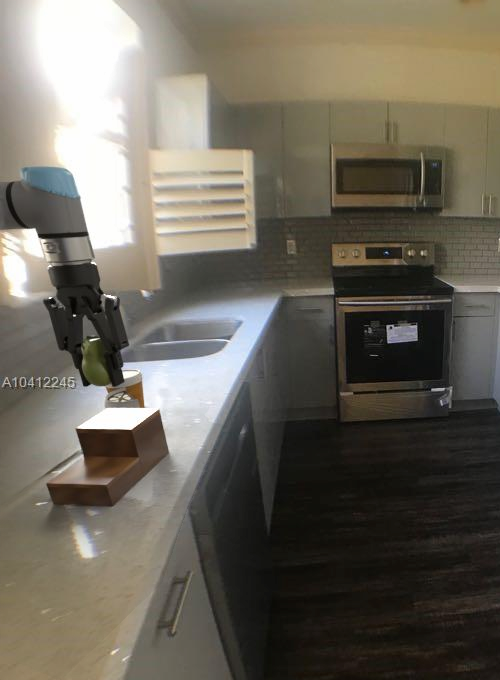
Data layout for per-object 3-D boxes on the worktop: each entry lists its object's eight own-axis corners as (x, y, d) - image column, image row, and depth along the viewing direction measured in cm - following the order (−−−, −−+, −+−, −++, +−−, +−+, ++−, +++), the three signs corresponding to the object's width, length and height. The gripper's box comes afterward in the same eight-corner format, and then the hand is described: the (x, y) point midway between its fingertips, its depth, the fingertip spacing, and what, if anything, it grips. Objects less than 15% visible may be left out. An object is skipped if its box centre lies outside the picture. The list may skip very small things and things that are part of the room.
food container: (107, 429, 116) (97, 393, 112) (133, 422, 120) (124, 386, 116) (119, 446, 107) (109, 407, 104) (147, 437, 111) (138, 399, 107)
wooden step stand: (53, 504, 86) (35, 453, 82) (119, 451, 105) (107, 408, 101) (112, 506, 85) (97, 454, 81) (169, 452, 104) (159, 408, 100)
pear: (107, 379, 93) (94, 331, 90) (126, 381, 92) (114, 333, 88) (82, 389, 88) (67, 339, 85) (102, 391, 87) (88, 340, 83)
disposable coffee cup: (122, 410, 127) (111, 369, 123) (157, 408, 128) (148, 367, 124) (105, 425, 119) (93, 381, 114) (143, 422, 119) (132, 379, 115)
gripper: (6, 266, 79) (46, 390, 87) (105, 264, 77) (136, 391, 85) (41, 261, 86) (75, 377, 94) (132, 259, 84) (158, 377, 92)
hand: (104, 383), depth 90 cm, fingers closed on pear, 5 cm apart
